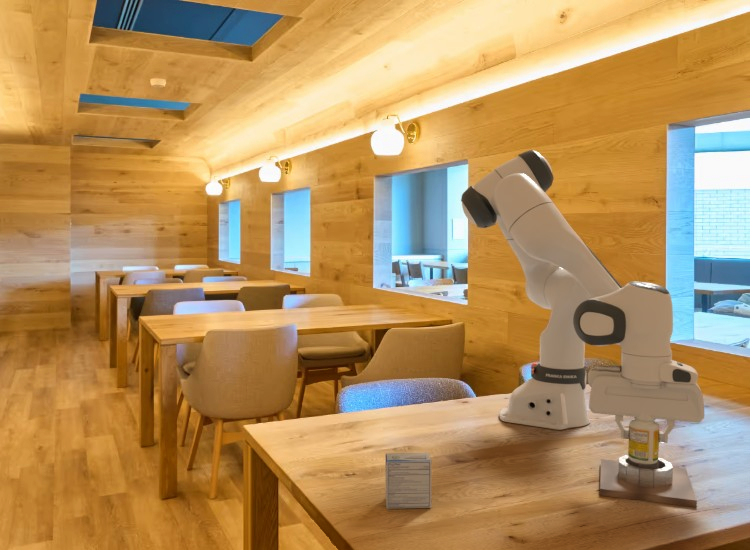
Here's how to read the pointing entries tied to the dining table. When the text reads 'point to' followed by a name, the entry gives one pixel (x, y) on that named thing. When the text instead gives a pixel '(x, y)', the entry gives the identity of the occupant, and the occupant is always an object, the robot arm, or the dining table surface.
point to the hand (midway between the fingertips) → (643, 440)
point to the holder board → (646, 482)
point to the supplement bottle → (643, 440)
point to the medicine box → (408, 480)
